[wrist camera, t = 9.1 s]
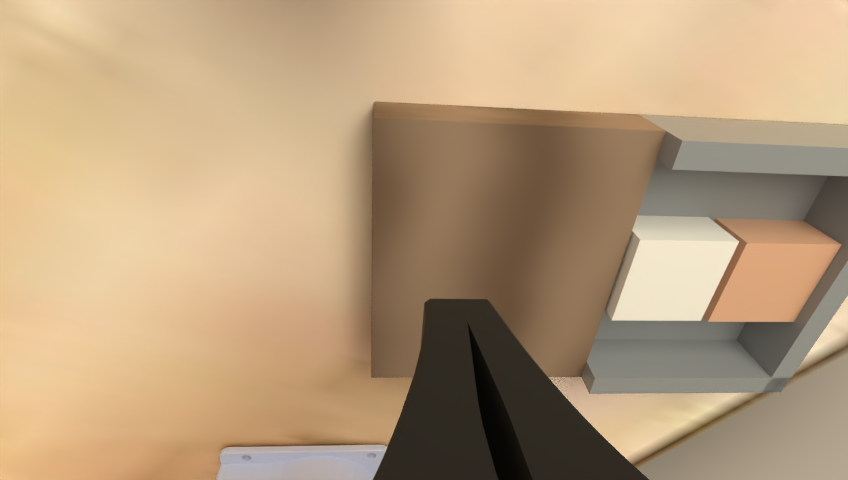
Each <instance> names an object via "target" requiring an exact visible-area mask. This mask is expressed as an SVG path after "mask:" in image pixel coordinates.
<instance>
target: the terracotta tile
mask: <svg viewBox="0 0 848 480" xmlns="http://www.w3.org/2000/svg"><path fill="white" fill-rule="evenodd" d="M714 222H715V223H716V224H718V225H719V226H720V227H721V228H723V229H724V230H725V231H727V232H728V233H729V234H730V235H732V236H733V237H734V238H735V239H737V240H738V241H739V243H738V245H737V247H736V249H735V251H734V254H733V256H732V258H731V260H730V262H729V264H728V266H727V268H726V270H725V272H724V274H723V276H722V278H721V280H720V282H719V284H718V286H717V288H716V291H715V293H714V295H713V297H712V299H711V301H710V303H709V305H708V307H707V309H706V311H705V313H704V315H703V317H704V318H705V319H706V320H707V321H708V322H794V321H795V319H796V318H797V316H798V314H799V313H800V311H801V310H802V308H803V306H804V305H805V303H806V302H807V300H808V298H809V297H810V295H811V294H812V292H813V290H814V289H815V287H816V286H817V284H818V282H819V281H820V279H821V278H822V276H823V274H824V273H825V271H826V270H827V268H828V266H829V265H830V263H831V262H832V260H833V258H834V257H835V255H836V254H837V252H838V250H839V249H840V247H841V246H842V244H840V243H839V242H837V241H835V240H834V239H832V238H830V237H829V236H827V235H826V234H824V233H822V232H821V231H819V230H818V229H816V228H814V227H813V226H811V225H809V224H808V223H806V222H805V221H803V220H764V219H720V218H716V219H715V221H714Z"/></svg>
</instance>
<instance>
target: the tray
mask: <svg viewBox="0 0 848 480" xmlns="http://www.w3.org/2000/svg"><path fill="white" fill-rule="evenodd" d="M641 116H642V117H644V118H646V119H647V120H649V121H651V122H652V123H654V124H656V125H657V126H659V127H661V128H662V129H664V130H666V134H665V137H664V140H663V143H662V146H661V149H660V152H659V154H658V157H657V160H656V163H655V166H654V169H653V172H652V175H651V178H650V180H649V183H648V186H647V189H646V192H645V195H644V198H643V201H642V204H641V206H640V209H639V212H638V215H639V216H681V217H709V218H710V219H711V220H713V221H715V219H716V218H720V219H764V220H803V221H805V222H806V223H808V224H809V225H811V226H813V227H814V228H816V229H818V230H819V231H821V232H822V233H824V234H826V235H827V236H829V237H830V238H832V239H834V240H835V241H837V242H839V243H840V244H842V246H841V247H840V249H839V250H838V252H837V254H836V255H835V257H834V258H833V260H832V262H831V263H830V265H829V266H828V268H827V270H826V271H825V273H824V274H823V276H822V278H821V279H820V281H819V282H818V284H817V286H816V287H815V289H814V290H813V292H812V294H811V295H810V297H809V298H808V300H807V302H806V303H805V305H804V306H803V308H802V310H801V311H800V313H799V314H798V316H797V318H796V319H795V321H794V322H708V321H707V320H706V319H705V318H704V317H702V319H701V321H625V320H611V318H610V317H609V315H608V314H607V312H606V310H605V311H604V313H603V316H602V319H601V322H600V325H599V328H598V331H597V334H596V337H595V339H594V342H593V345H592V348H591V351H590V354H589V357H588V360H587V363H586V365H585V368H584V371H583V374H582V379H583V381H584V383H585V385H586V387H587V389H588V392H589V394H599V393H743V392H782V390H783V389H784V387H785V386H786V384H787V383H788V382H789V380H790V379H791V377H792V376H793V374H794V373H795V371H796V370H797V368H798V367H799V366H800V364H801V363H802V361H803V360H804V358H805V357H806V355H807V354H808V352H809V351H810V349H811V348H812V347H813V345H814V344H815V342H816V341H817V339H818V338H819V336H820V335H821V333H822V332H823V330H824V329H825V328H826V326H827V325H828V323H829V322H830V320H831V319H832V317H833V316H834V314H835V313H836V312H837V310H838V309H839V307H840V306H841V304H842V303H843V301H844V300H845V298H846V297H847V295H848V125H839V124H819V123H798V122H778V121H758V120H737V119H717V118H696V117H676V116H655V115H641Z"/></svg>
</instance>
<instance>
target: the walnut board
mask: <svg viewBox="0 0 848 480" xmlns="http://www.w3.org/2000/svg"><path fill="white" fill-rule="evenodd" d="M665 134H666V130H664V129H662V128H661V127H659V126H657V125H656V124H654V123H652V122H651V121H649V120H647V119H646V118H644V117H642V116H641V115H635V114H614V113H594V112H573V111H553V110H533V109H512V108H492V107H471V106H451V105H430V104H410V103H389V102H375V105H374V113H373V196H372V349H371V377H413V376H414V373H415V369H416V365H417V361H418V357H419V353H420V349H421V337H422V325H423V313H424V303H425V302H426V301H427V300H429V299H488V300H489V301H490V303H491V304H492V305H493V306H494V308H495V309H496V311H497V312H498V313H499V315H500V316H501V318H502V319H503V320H504V322H505V323H506V324H507V326H508V327H509V329H510V330H511V331H512V333H513V334H514V335H515V337H516V338H517V339H518V341H519V342H520V343H521V344H522V346H523V347H524V348H525V350H526V351H527V352H528V353H529V355H530V356H531V357H532V358H533V360H534V361H535V362H536V363H537V364H538V366H539V367H540V368H541V369H542V371H543V372H544V373H545V374H546V375H547V377H582V374H583V371H584V368H585V365H586V363H587V360H588V357H589V354H590V351H591V348H592V345H593V342H594V339H595V337H596V334H597V331H598V328H599V325H600V322H601V319H602V316H603V313H604V311H605V308H606V305H607V302H608V299H609V296H610V293H611V290H612V287H613V285H614V282H615V279H616V276H617V273H618V270H619V267H620V264H621V261H622V259H623V256H624V253H625V250H626V247H627V244H628V241H629V238H630V235H631V233H632V230H633V227H634V224H635V221H636V218H637V215H638V212H639V209H640V206H641V204H642V201H643V198H644V195H645V192H646V189H647V186H648V183H649V180H650V178H651V175H652V172H653V169H654V166H655V163H656V160H657V157H658V154H659V152H660V149H661V146H662V143H663V140H664V137H665Z"/></svg>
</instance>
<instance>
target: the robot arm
mask: <svg viewBox="0 0 848 480" xmlns="http://www.w3.org/2000/svg"><path fill="white" fill-rule="evenodd" d="M219 459H220V463H221V466H220V469H219V472H218V475H217V478H216V480H649V479H648V478H647V477H646V476H644V475H643V474H642V473H641V472H640V471H639V470H638V469H637V468H635V467H634V466H633V465H632V464H631V463H630V462H629V461H628V460H627V459H626V458H625V457H624V456H622V455H621V454H620V453H619V452H618V451H617V450H616V449H615V448H614V447H613V446H612V445H611V444H610V443H609V442H608V441H607V440H606V439H605V438H604V437H603V436H602V435H601V434H600V433H599V432H598V431H597V430H596V429H595V428H594V427H593V426H592V425H591V424H590V423H589V422H588V421H587V420H586V419H585V418H584V417H583V416H582V415H581V414H580V413H579V411H578V410H577V409H576V408H575V407H574V406H573V405H572V404H571V403H570V402H569V401H568V399H567V398H566V397H565V396H564V395H563V394H562V393H561V392H560V391H559V389H558V388H557V387H556V386H555V385H554V384H553V383H552V381H551V380H550V379H549V378H548V377H547V375H546V374H545V373H544V372H543V371H542V369H541V368H540V367H539V366H538V364H537V363H536V362H535V361H534V360H533V358H532V357H531V356H530V355H529V353H528V352H527V351H526V350H525V348H524V347H523V346H522V344H521V343H520V342H519V341H518V339H517V338H516V337H515V335H514V334H513V333H512V331H511V330H510V329H509V327H508V326H507V324H506V323H505V322H504V320H503V319H502V318H501V316H500V315H499V313H498V312H497V311H496V309H495V308H494V306H493V305H492V304H491V303H490V301H489V300H488V299H429V300H427V301H426V302H425V303H424V313H423V325H422V337H421V349H420V353H419V357H418V361H417V365H416V369H415V373H414V376H413V380H412V383H411V386H410V389H409V392H408V394H407V397H406V400H405V403H404V406H403V409H402V412H401V415H400V417H399V420H398V423H397V425H396V428H395V430H394V433H393V435H392V438H391V440H390V442H389V445H388V447H387V446H385V445H326V446H265V447H226V448H224V449H222V450H221V452H220V455H219Z"/></svg>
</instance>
